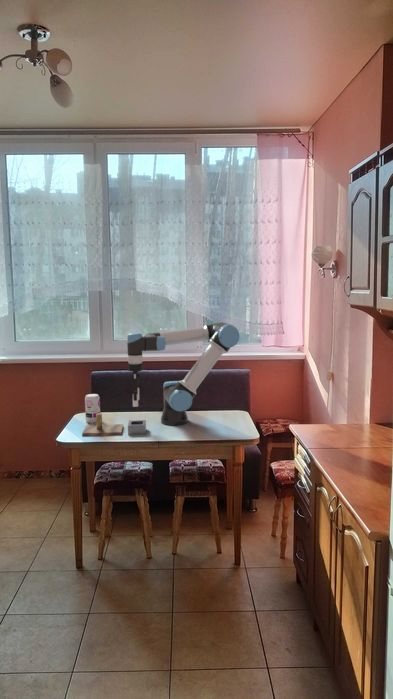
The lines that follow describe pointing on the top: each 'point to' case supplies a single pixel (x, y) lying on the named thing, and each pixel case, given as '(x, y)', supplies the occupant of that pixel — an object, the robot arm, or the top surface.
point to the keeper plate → (102, 428)
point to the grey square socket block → (137, 427)
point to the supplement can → (92, 407)
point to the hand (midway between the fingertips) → (136, 403)
